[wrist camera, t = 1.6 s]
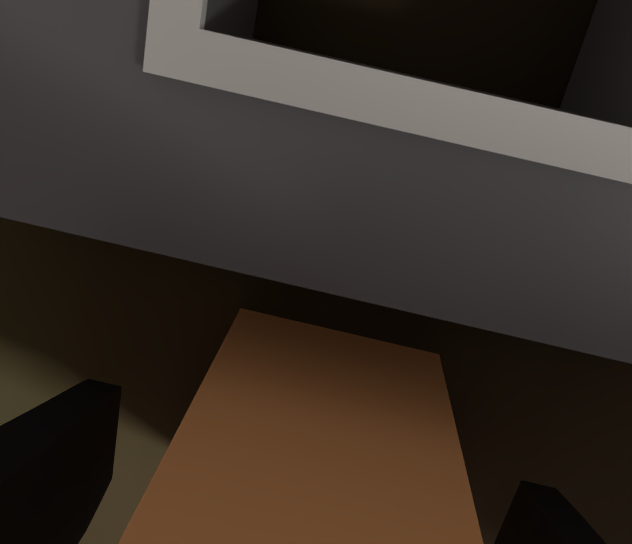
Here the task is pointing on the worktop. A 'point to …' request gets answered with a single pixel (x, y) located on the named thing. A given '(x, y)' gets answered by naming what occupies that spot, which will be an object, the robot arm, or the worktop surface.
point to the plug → (311, 446)
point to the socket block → (327, 165)
